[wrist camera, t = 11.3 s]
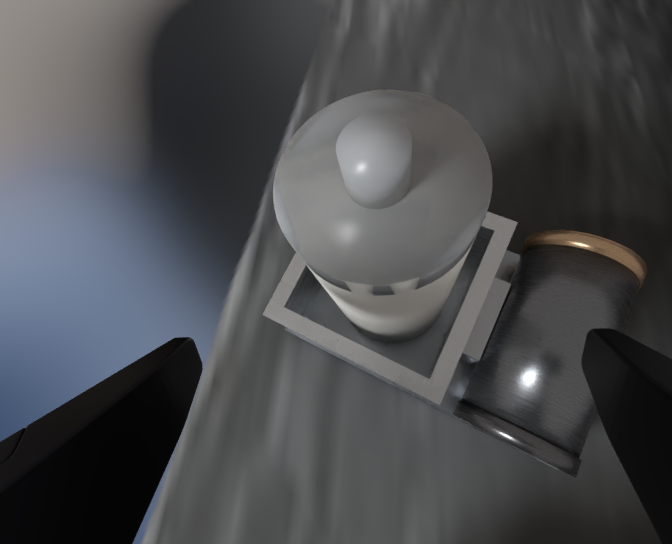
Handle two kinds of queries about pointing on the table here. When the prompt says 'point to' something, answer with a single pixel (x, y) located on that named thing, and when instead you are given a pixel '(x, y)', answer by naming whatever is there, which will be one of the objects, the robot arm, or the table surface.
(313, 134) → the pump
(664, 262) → the table surface
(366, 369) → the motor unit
